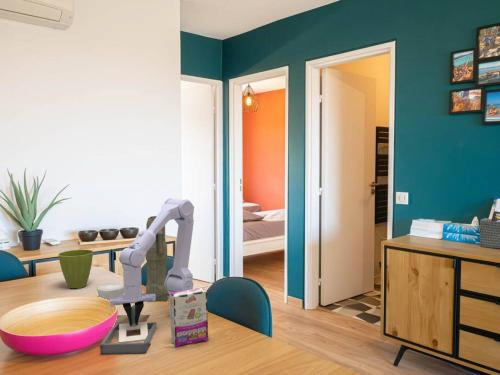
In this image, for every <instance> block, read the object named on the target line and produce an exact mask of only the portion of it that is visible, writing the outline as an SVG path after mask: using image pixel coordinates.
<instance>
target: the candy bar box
mask: <svg viewBox="0 0 500 375" xmlns="http://www.w3.org/2000/svg"><path fill="white" fill-rule="evenodd" d="M170 312H171V317H170V332H171V333H170V335H171V338H170V339H171V341H172V344H173V347H175V348H181V347H185V346H189V345H193V344H198V343H202V342H208V341H209V325H208V322H209V321H208V320H209V318H208V291H207V289H205V288H204V287H198V288H193V289H190V290H184V291H178V292H172V293H170ZM170 312H169V313H170Z"/></svg>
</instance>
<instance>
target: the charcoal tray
mask: <svg viewBox="0 0 500 375" xmlns="http://www.w3.org/2000/svg"><path fill="white" fill-rule="evenodd" d="M119 324H128V323H116V324H115V326H114V327H113V328H111V330H109V332H108V334H107V335H106V336H105V338H104V339H103V341H102V342H101V343H100V345H99V346H100V347H99V348H100V349H99V351H100V355H139V354H140V355H141V354H142V355H143V354H144V355H145V354H147V352H148V351H149V348H150V347H151V341H152V339H153V336H154V335H155V333H156V330H157V321H156V322H155V321H153V322H147V328H148V335H147V337H146V339H145V341H144V342H128V343H119V342H114V343H111V341H112V340H113V338H114V337H115V335H116V334H117V332H119ZM135 330H140V329H135Z"/></svg>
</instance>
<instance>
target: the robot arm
mask: <svg viewBox="0 0 500 375" xmlns="http://www.w3.org/2000/svg"><path fill="white" fill-rule="evenodd" d="M160 209H161V210H160V211H159V213H158V214H157V215H156V216H157V217H156V218H155V220H154V221H153V222H152V224H151V225H150V227H149V228H148V229H147V230H146V229H143V230H141V231H139V232H138V233H137V235H138V236H137V235H136V237H135V239H134V240H133V241H132V242H131V243H130V244H129V246H128V247H126V248H124V249H123V250H122V251H121V252H120V256H118V261H119V263H120V264H121V267H122V273H123V275H122V277H123V278H122V280H123V281H122V282H123V285H124V293H123V297H119V298H114V299H110V302H109V307H114V306H121V305H122V307H123V310H124V311H125V313H126V314H125V315H127V316H128V319H129V325H130V326H132V317H131V313H132V304H134V305H135V324H136V325H138V321H139V317H140V315H142V311H143V309H144V307H145V302H147V301H156V295H155V294H146V293H144V294H143V292H142V291H143V290H142V289H143V288H142V287H143V286H142V264H144V263H145V260H146V256H145V255H146V253H147V251H148V250H149V249H150V247H151V246H152V245H153V244H154V242H155V241H156V234H157V233H158V232H159V231H160V230H161V229H162V228H163V227H164V226H165V227H166V225H167V224H168V222H170V221H171V220H174V221H175V223H176V224H177V234H176V242H175V250H174V256H173V264H172V265H173V266H172V268H170V269H169V270H168V271H167V274H166V280H165V284H164V285H165V289H166V290H167V291H168V302H169V303H168V305H169V308H168V309H169V312H168V313H169V317H170V318H171V312H170V293H172V292H178V291H184V290H190V289H194V281H193V273H192V272H191V271H190V269H189V262H190V255H191V246H192V239H193V232H194V222H195V220H194V212H195V206H194V204H193V203H192V202H191V200H189V199H179V198H170V197H169V198H167V199H166V200H164V203H163V204H162V205H161V208H160Z"/></svg>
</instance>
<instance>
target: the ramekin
mask: <svg viewBox="0 0 500 375" xmlns="http://www.w3.org/2000/svg"><path fill="white" fill-rule="evenodd" d="M96 291H97V294H98V298H99V297H101V298H104V299H107V300H109V301H110V299H114V298H119V297H123V296H124V283H119V282H117V283H116V282H113V283H112V282H111V283H105V284H101V285H99V286H97V288H96Z"/></svg>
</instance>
